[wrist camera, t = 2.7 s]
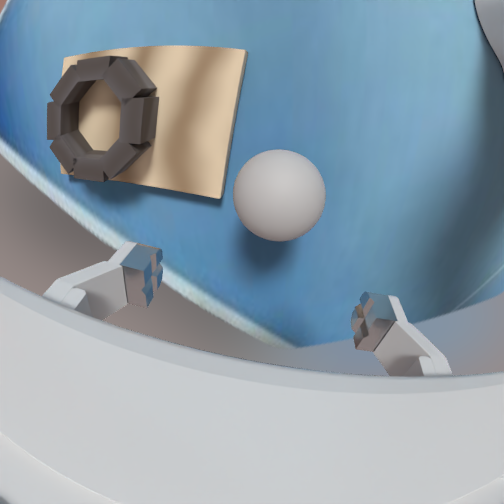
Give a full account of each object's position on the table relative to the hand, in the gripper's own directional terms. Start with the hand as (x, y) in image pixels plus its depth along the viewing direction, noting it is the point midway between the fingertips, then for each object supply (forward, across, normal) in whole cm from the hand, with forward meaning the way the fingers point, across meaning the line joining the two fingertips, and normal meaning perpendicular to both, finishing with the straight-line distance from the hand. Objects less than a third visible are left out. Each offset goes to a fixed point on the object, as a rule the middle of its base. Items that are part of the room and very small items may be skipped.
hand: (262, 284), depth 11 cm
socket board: (+17, +14, -4) cm, 23 cm away
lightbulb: (+17, 0, 0) cm, 17 cm away
